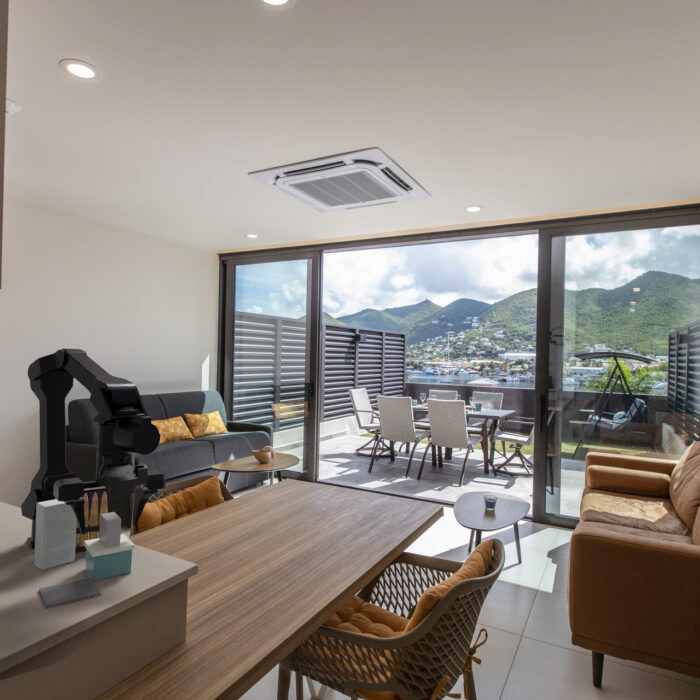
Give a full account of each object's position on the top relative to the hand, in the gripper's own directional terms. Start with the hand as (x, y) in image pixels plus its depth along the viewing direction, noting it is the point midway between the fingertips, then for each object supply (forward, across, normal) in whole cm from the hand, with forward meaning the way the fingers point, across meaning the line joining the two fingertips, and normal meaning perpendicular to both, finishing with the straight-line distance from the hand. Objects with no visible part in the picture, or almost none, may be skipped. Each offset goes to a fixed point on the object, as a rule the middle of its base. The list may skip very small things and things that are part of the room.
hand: (109, 529), depth 96 cm
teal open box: (+8, 0, 0) cm, 8 cm away
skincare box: (+8, -7, +9) cm, 14 cm away
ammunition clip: (+8, -2, +13) cm, 16 cm away
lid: (+3, 0, 0) cm, 3 cm away
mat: (+8, -8, -6) cm, 12 cm away
